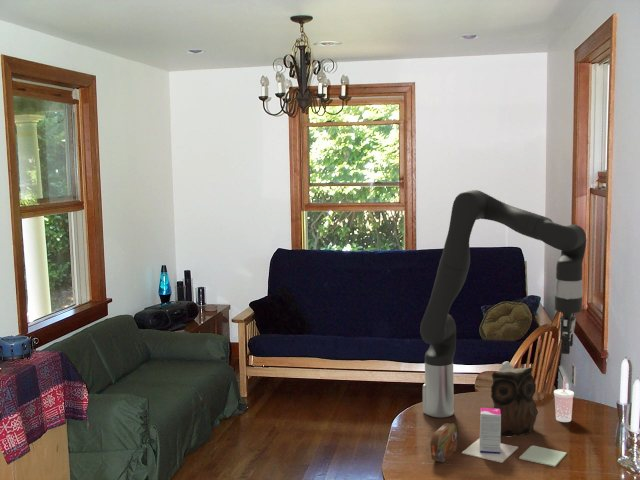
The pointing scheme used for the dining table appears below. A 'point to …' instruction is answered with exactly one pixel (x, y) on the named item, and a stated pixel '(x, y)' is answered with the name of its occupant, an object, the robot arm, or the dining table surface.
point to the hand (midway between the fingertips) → (567, 349)
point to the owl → (515, 400)
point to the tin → (444, 442)
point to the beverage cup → (563, 403)
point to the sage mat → (543, 455)
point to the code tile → (504, 453)
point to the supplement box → (490, 430)
